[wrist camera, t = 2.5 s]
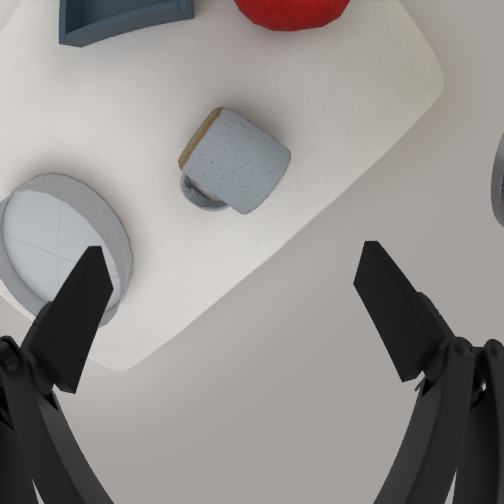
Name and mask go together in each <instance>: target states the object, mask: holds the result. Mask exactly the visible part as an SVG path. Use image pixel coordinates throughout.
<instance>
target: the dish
mask: <svg viewBox="0 0 504 504" xmlns="http://www.w3.org/2000/svg"><path fill="white" fill-rule="evenodd" d="M88 246H101V247H102V251H103V254H104V258H105V261H106V265H107V268H108V272H109V275H110V278H111V281H112V285H113V288H114V290H113V293H112V295H111V297H110V300H109V302H108V304H107V307H106V309H105V311H104V314H103V316H102V319H101V321H100V324H99V326H98V328H100V327H102V326H104V325H106V324H107V323H108V322H109V321H110V320H111V319H112V318H113V316H114V315H115V314H116V312H117V309H118V306H119V304H120V303H121V301H122V300H123V298H124V295H125V293H126V290H127V287H128V284H129V281H130V279H131V276H132V258H133V257H132V253H131V249H130V244H129V240H128V237H127V235H126V233H125V231H124V228H123V226H122V224H121V222H120V220H119V218H118V217H117V215H116V214H115V213H114V212H113V210H112V209H111V208H110V206H109V205H108V204H107V203H106V201H105V200H104V199H103V198H102V197H101V196H99V195H98V194H97V193H96V192H94V191H93V190H92V189H91V188H90V187H88V186H87V185H86V184H83V183H81V182H79V181H77V180H75V179H73V178H71V177H69V176H63V175H56V174H46V175H41V176H37V177H34V178H32V179H31V180H29V181H28V182H26V183H24V184H23V185H21V186H20V187H18V188H17V189H15V190H14V191H13V192H12V193H11V194H10V196H8V197H7V198H5V199H4V200H3V201H1V202H0V277H1V279H2V281H3V282H4V284H5V285H6V287H7V288H8V290H9V291H10V293H11V294H12V295H13V296H14V297H15V299H16V300H17V301H18V302H19V303H20V304H21V305H22V306H23V307H24V308H25V309H27V310H28V311H29V312H31V313H32V314H33V315H35V316H37V314H38V313H39V311H40V309H41V308H42V307H43V306H44V305H45V304H46V303H47V302H48V301H53V300H54V298H55V296H56V295H57V293H58V291H59V290H60V288H61V287H62V285H63V283H64V282H65V280H66V279H67V277H68V275H69V274H70V272H71V271H72V269H73V268H74V266H75V265H76V263H77V262H78V260H79V259H80V257H81V256H82V254H83V253H84V252H85V250H86V249H87V247H88Z"/></svg>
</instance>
